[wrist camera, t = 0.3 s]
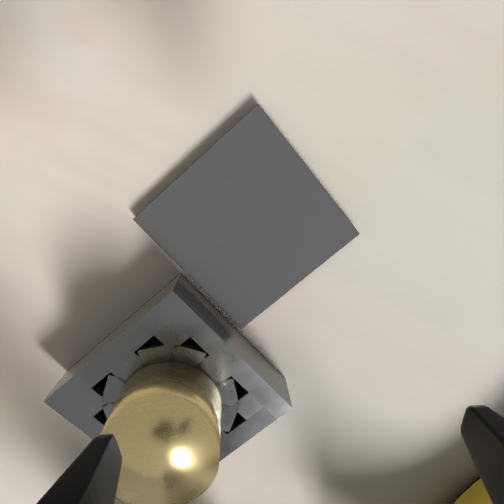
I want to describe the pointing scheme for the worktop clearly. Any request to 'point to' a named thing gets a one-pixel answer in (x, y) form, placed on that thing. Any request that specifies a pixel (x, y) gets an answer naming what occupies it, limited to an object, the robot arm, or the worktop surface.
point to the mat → (247, 219)
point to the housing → (179, 351)
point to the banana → (475, 495)
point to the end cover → (166, 434)
